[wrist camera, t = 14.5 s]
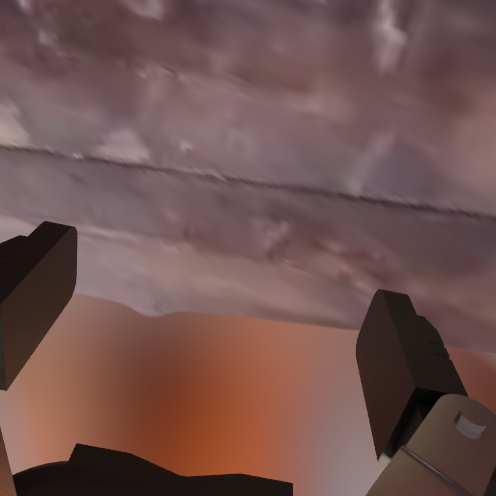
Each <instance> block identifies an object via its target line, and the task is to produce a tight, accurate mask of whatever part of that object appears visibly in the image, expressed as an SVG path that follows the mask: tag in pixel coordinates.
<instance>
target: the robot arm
mask: <svg viewBox="0 0 496 496" xmlns="http://www.w3.org/2000/svg"><path fill="white" fill-rule="evenodd" d="M76 277H77V230H76V228H75V227H73V226H68V225H63V224H58V223H53V222H48V221H44V222H43V223H42V224H40V225H39V226H38V227H37V228H36V229H35V230H34V231H33V232H32V233H31V234H30V235H29V236H28V237H27V236H22V235H19V236H17V237H14V238H12V239H10V240H7V241H5V242H2V243H1V244H0V390H5V391H7V389H8V388H9V386H10V385H11V384H12V382H13V381H14V379H15V378H16V376H17V375H18V374H19V372H20V371H21V369H22V368H23V367H24V365H25V364H26V362H27V361H28V359H29V358H30V356H31V355H32V354H33V352H34V351H35V349H36V348H37V347H38V345H39V344H40V342H41V341H42V339H43V338H44V337H45V335H46V334H47V332H48V331H49V329H50V328H51V327H52V325H53V324H54V322H55V321H56V319H57V318H58V317H59V315H60V314H61V312H62V311H63V309H64V308H65V306H66V305H67V304H68V302H69V301H70V299H71V297H72V295H73V292H74V289H75V285H76ZM449 358H450V356H449V354H448V352H447V350H446V348H444V343H443V341H442V339H441V337H440V335H439V333H438V331H437V330H436V329H435V328H434V326H433V325H432V324H431V323H430V322H429V321H428V320H427V319H426V318H425V317H423V316H418V315H417V314H416V312H415V309H414V307H413V305H412V302H411V300H410V298H409V296H408V295H407V294H402V293H397V292H392V291H387V290H382V289H379V290H377V291H376V293H375V294H374V297H373V299H372V302H371V304H370V307H369V309H368V312H367V314H366V317H365V319H364V322H363V325H362V327H361V330H360V332H359V335H358V338H357V344H356V359H357V364H358V369H359V374H360V378H361V383H362V388H363V393H364V398H365V402H366V407H367V412H368V417H369V422H370V426H371V431H372V436H373V441H374V446H375V451H376V455H377V460H378V462H382V463H387V464H388V465H387V467H386V468H385V469H384V471H383V472H382V474H381V475H380V476H379V477H378V479H377V480H376V482H375V483H374V484H373V486H372V487H371V489H370V490H369V491H368V493H367V494H366V495H365V496H496V415H495V414H494V413H493V412H492V411H490V410H489V409H488V408H487V407H485V406H484V405H482V404H481V403H479V402H477V401H476V400H473V399H471V398H469V397H468V395H467V392H466V390H465V388H464V386H463V384H462V382H461V380H460V377H459V375H458V373H457V371H456V369H455V367H454V365H453V363H452V360H450V359H449ZM0 496H293V484H292V483H289V482H284V481H278V480H273V479H267V478H262V477H256V476H251V475H246V474H225V475H207V476H190V477H186V476H180V475H177V474H175V473H173V472H171V471H168V470H166V469H164V468H162V467H160V466H158V465H155V464H153V463H151V462H149V461H146V460H144V459H142V458H140V457H138V456H135V455H133V454H131V453H126V452H121V451H115V450H110V449H105V448H99V447H94V446H88V445H83V444H78V443H77V444H76V446H75V448H74V450H73V452H72V454H71V457H70V459H69V461H60V462H54V463H47V464H43V465H39V466H36V467H32V468H29V469H27V470H24V471H21V472H19V473H16V474H14V475H12V473H11V470H10V465H9V461H8V457H7V453H6V449H5V445H4V440H3V436H2V432H1V429H0Z"/></svg>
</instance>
